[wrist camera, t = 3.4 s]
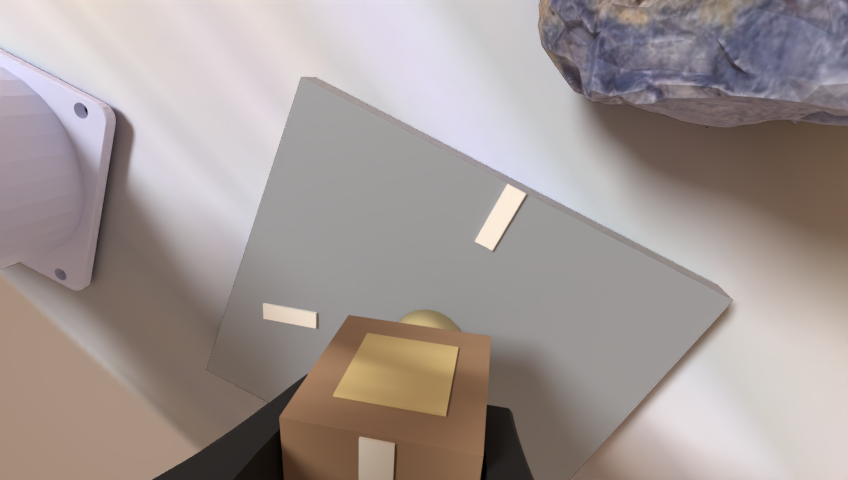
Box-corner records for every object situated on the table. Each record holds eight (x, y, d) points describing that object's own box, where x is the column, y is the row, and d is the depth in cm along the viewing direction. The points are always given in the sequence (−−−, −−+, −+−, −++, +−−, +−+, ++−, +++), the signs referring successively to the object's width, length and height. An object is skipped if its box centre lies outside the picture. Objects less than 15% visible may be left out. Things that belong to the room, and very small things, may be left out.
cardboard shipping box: (349, 425, 14) (288, 557, 10) (348, 313, 12) (277, 417, 8) (476, 449, 13) (463, 599, 9) (491, 334, 12) (483, 456, 8)
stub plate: (221, 355, 18) (169, 404, 15) (315, 77, 13) (265, 75, 11) (519, 510, 18) (522, 588, 15) (717, 285, 13) (773, 338, 10)
